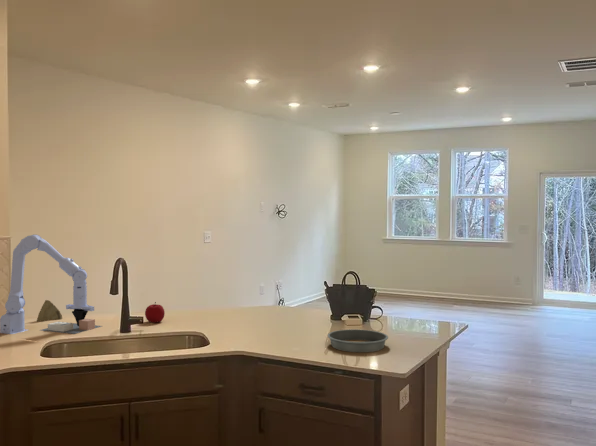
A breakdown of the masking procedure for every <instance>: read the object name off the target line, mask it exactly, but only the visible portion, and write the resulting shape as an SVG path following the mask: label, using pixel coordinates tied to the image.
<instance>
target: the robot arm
mask: <svg viewBox="0 0 596 446" xmlns="http://www.w3.org/2000/svg"><path fill="white" fill-rule="evenodd" d="M35 249H37V251H40V252H41V251H42V252H44V253H46V254H47V255H49V256H50V257H51V258H52V259H54V260H55V261H56V262H57V263H58V267H59V268H60V269H61V270H62V271H63V272H64V273H66V274H67V275H68V276H69V277H71V278H72V281H73V287H72V289H73V292H72V294H73V295H72V296H73V297H72V299H73V300H72V301H73V304H71V303H70V304H65V309H66V310H72V311H71V313H72V315H73V317H74V319H75V322H76V324H77V326H79V320H83V319H86V316H87V315H88V312H94V311H95V306H93V305H88V298H87V297H88V296H87V295H88V288H87V287H88V285H87V277H88V273H87V271H86V270H85V269H84V268H82V266H79V265H78V264H76V262H75V260H74V259H73V258H70V257H65V256H63V255H62V254H61V253H60V252H59V251H58V250H57V249H56V248H55V247H54V246H53V245H52V244H51V243H49V242H48V241H47V240H46V239H45V238H42V236H40V235H39V234H31V235H27V236H25V237H23V238H22V239H21V240H20V242H19V243H18V244H17V245H16V246H15V248H14V249H13V251H12V258H11V259H12V262H11V273H10V275H11V276H10V287H9V288H10V289H9V293H8V295H7V296H8V297H7V300H6V302H5V305H4V306H5V307H4V308H5V310H6V311H5V314H3V315H1V317H0V334H5V335H6V334H7V335H14V334H18V333H23V332H26V331H28V329H25V309H24V307H25V305H26V300H25V298H24V297H25V296H24V277H25V266H26V265H25V261H26V255H28V254H29V253H30V252H32V251H33V250H35Z"/></svg>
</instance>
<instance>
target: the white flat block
mask: <svg viewBox="0 0 596 446" xmlns="http://www.w3.org/2000/svg"><path fill="white" fill-rule="evenodd" d="M47 328H48V330H53V331H63V332H64V331H68V330H71V329H73V322H66V321H65V322H64V321H56V322H55V321H54V322H52V323H51V322H50V323H47Z"/></svg>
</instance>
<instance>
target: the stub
mask: <svg viewBox="0 0 596 446" xmlns="http://www.w3.org/2000/svg"><path fill="white" fill-rule="evenodd" d="M95 325H96V319H93V318H85V319H83V320H79V329H81V330H88V331H90V329H91V330H94V328H95ZM95 329H96V328H95Z"/></svg>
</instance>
